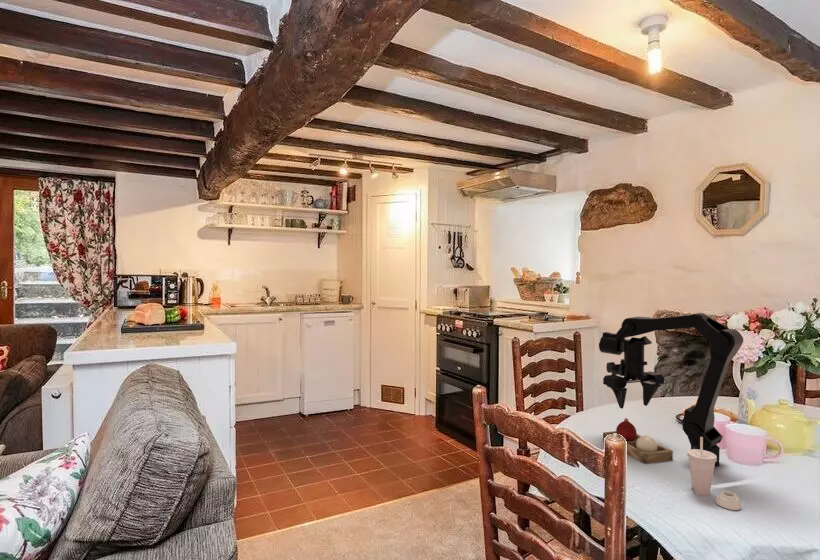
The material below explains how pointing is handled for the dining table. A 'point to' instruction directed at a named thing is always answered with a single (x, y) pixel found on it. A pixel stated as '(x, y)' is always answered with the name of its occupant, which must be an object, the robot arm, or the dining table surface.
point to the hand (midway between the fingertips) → (633, 406)
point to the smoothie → (701, 469)
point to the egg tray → (649, 457)
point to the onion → (626, 430)
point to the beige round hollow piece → (728, 500)
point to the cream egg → (646, 444)
